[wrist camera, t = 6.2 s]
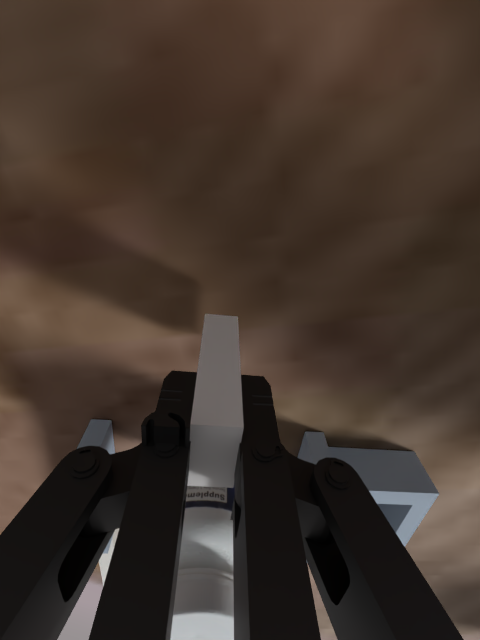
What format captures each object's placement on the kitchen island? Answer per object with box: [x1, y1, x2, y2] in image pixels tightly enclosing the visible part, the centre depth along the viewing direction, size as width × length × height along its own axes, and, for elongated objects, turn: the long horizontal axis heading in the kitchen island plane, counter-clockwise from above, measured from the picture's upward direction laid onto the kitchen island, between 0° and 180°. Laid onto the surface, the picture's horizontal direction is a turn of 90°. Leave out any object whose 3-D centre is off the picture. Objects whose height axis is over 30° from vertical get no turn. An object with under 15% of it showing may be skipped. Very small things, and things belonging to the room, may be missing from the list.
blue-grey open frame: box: [77, 419, 439, 561], centre depth 22 cm, size 10×21×3 cm, turn 84°
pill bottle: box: [170, 485, 235, 640], centre depth 16 cm, size 5×5×10 cm
